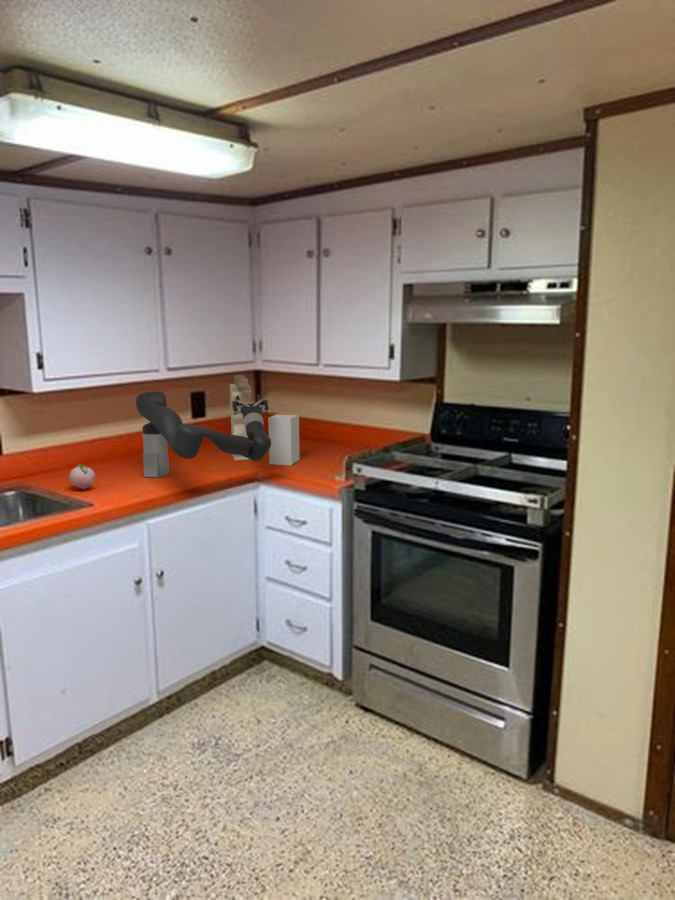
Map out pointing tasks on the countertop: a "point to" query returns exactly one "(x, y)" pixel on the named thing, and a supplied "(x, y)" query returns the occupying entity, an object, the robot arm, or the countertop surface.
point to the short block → (284, 439)
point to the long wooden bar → (241, 381)
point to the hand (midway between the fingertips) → (248, 396)
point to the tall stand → (239, 414)
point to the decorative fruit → (82, 476)
